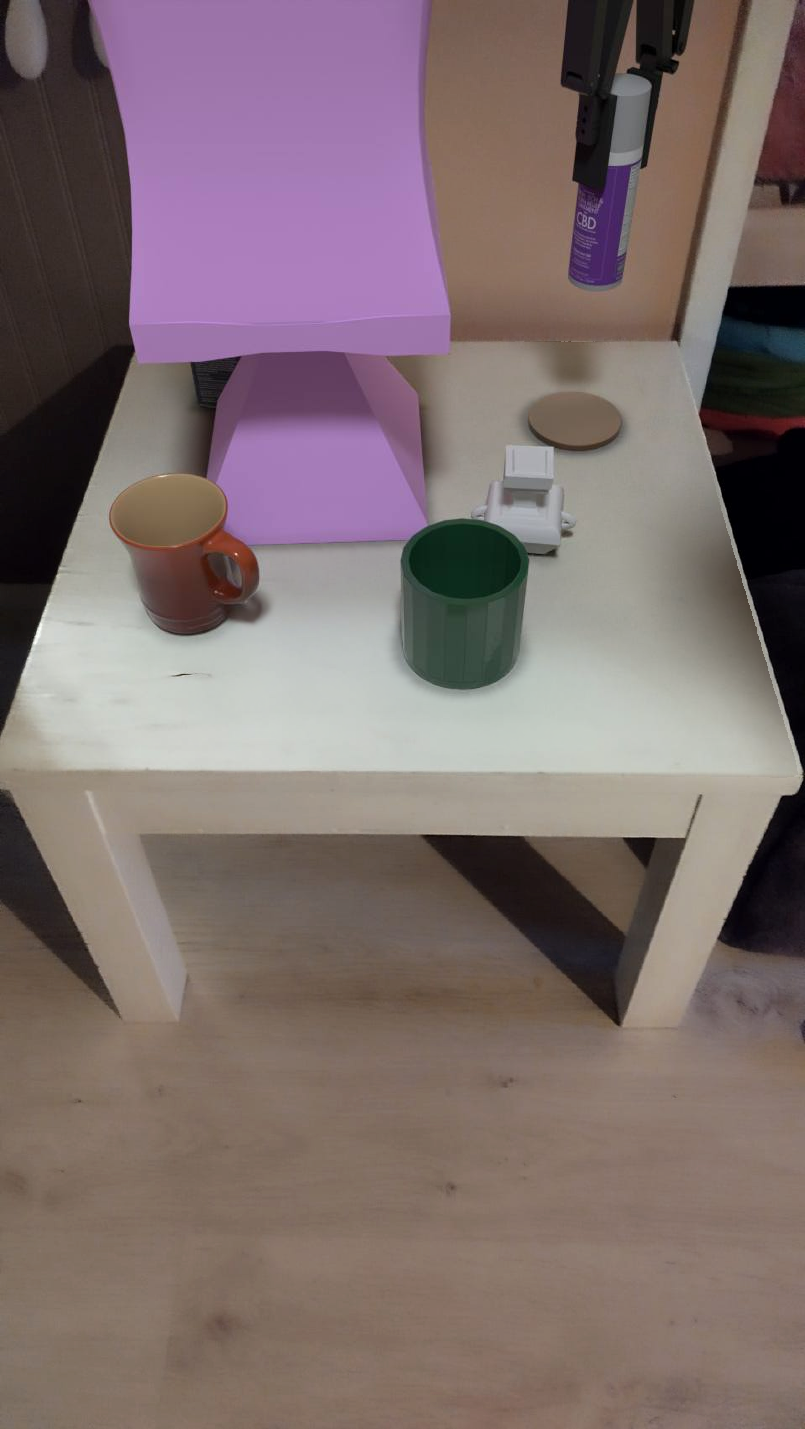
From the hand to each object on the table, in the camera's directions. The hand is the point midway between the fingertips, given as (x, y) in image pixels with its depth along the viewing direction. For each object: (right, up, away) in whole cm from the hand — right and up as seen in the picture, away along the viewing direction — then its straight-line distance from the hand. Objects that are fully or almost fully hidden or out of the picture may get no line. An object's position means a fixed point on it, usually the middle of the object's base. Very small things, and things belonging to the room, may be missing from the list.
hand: (609, 173), depth 81 cm
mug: (-32, -35, +2) cm, 48 cm away
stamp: (-6, -28, +8) cm, 30 cm away
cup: (-12, -38, -1) cm, 40 cm away
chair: (-24, -21, +14) cm, 35 cm away
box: (-34, -10, +23) cm, 42 cm away
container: (0, -6, +7) cm, 9 cm away
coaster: (0, -15, +18) cm, 23 cm away
